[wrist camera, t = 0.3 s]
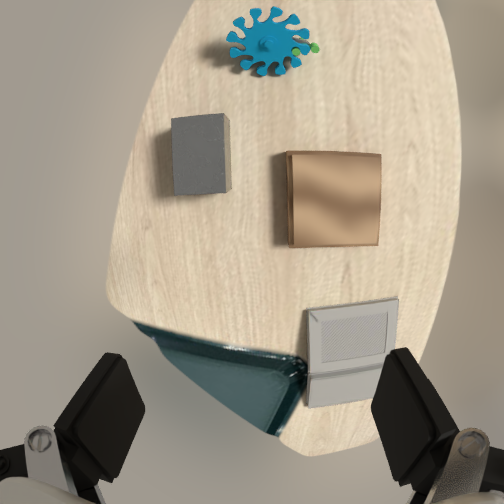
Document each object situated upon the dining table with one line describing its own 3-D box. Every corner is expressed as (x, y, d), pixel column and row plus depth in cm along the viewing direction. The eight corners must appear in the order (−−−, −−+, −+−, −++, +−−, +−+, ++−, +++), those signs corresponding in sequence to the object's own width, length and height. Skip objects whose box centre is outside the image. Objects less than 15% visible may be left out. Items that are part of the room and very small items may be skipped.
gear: (221, 72, 29) (231, 2, 20) (226, 55, 31) (236, -5, 23) (307, 86, 30) (330, 22, 21) (302, 68, 33) (321, 12, 24)
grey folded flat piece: (377, 391, 46) (382, 404, 43) (305, 403, 48) (307, 417, 44) (395, 294, 39) (405, 305, 36) (305, 305, 41) (308, 318, 37)
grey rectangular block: (184, 124, 33) (171, 118, 28) (229, 120, 32) (223, 113, 27) (187, 190, 36) (174, 195, 30) (231, 188, 35) (226, 193, 30)
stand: (285, 151, 33) (287, 150, 30) (374, 154, 33) (383, 154, 30) (287, 242, 37) (289, 249, 34) (371, 240, 36) (379, 247, 33)
